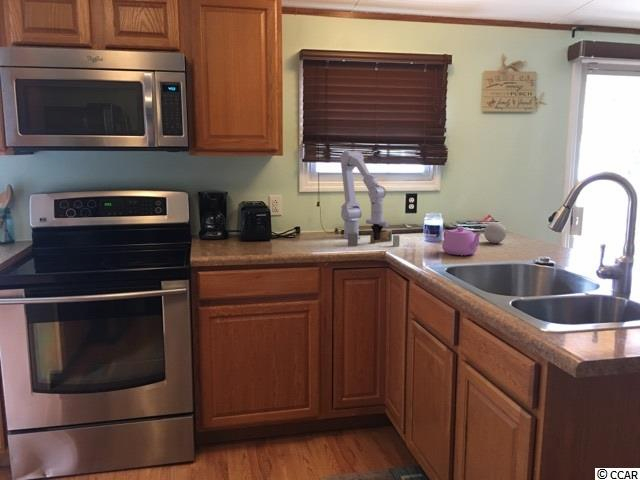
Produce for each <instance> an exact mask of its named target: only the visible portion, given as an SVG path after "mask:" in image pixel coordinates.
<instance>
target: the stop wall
mask: <svg viewBox="0 0 640 480" xmlns="http://www.w3.org/2000/svg"><path fill="white" fill-rule="evenodd" d="M392 246H393V247H400V234H392Z"/></svg>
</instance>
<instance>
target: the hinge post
mask: <svg viewBox="0 0 640 480" xmlns="http://www.w3.org/2000/svg"><path fill="white" fill-rule="evenodd" d="M385 232H391V241H390V242H393V230H392V229H386V230H385Z"/></svg>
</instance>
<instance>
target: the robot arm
mask: <svg viewBox="0 0 640 480" xmlns="http://www.w3.org/2000/svg"><path fill="white" fill-rule="evenodd" d="M339 156H340V157H339V159H340V168H341V175H342V176H341V177H342V184H343V192H344V193H343V194H344V200H345V201H344V202H343V204H342V205H341V207H340V208H341V212H340V217H341V219H342V220H343V221H344V224H343V234H342V237H343V238H344V239H345V240H346V239H347V240H348V232H356V233H357V234H358V239H361V237H360V236H359V232H360V231H359V228H360V227H359V221H360V220H361V218H362V217H363V216H362V215H363V210H362V209H361V204H360V203H359V202H358V201H357V200H356V199H357V198H356V192H355V181H354V176H353V175H354V171H353V170H354V169H355V168H356V169H357V170H358V171H359V173H360V175H362V178H363V180H362V182H363V183H364V185H365V187H366V188H367V190H368V194H367V195H368V197H369V202H370V219H365V224H366V225H367V224H370V228H371V230H372V232H373V233H374V239H375V240H380V233H382V231H383V228H384V227H389V226H390V225H389V223H390V222H389V221H385V220H384V198H385V197H386V194H387V193H386V189H385V187H384V186H382V185H381V184H380V183H379V182H378V180H377V179H376V176H375V175H374V174H371V173H370V171H369V169H368V166H367V165H366V163H365V161H364V155H363V153H362V151H360V150H344V151H342V153H341V154H340V155H339Z"/></svg>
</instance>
